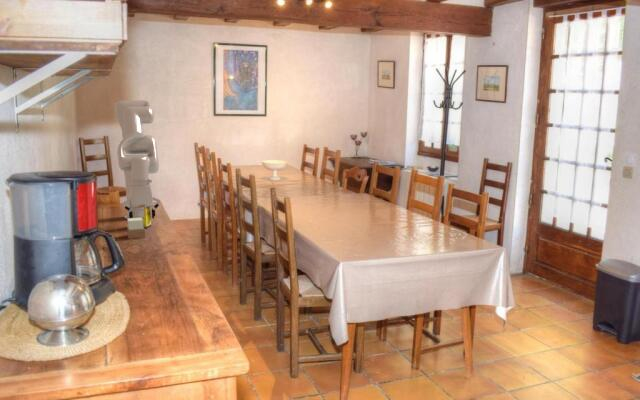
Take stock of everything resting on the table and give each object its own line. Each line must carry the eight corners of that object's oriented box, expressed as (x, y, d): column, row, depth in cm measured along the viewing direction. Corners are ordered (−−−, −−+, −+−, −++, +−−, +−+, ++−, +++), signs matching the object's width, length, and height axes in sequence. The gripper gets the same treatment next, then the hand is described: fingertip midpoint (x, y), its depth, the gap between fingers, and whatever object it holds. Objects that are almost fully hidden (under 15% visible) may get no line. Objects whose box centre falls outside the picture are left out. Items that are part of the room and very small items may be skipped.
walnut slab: (127, 236, 258) (126, 227, 258) (143, 234, 261) (143, 225, 260) (128, 239, 252) (128, 230, 251) (145, 237, 255) (144, 229, 254)
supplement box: (151, 225, 277) (150, 203, 275) (146, 228, 272) (145, 205, 270) (139, 225, 278) (138, 203, 276) (134, 228, 272) (132, 205, 270)
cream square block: (127, 227, 257) (127, 218, 257) (142, 226, 260) (141, 217, 259) (129, 230, 252) (128, 221, 251) (143, 228, 254) (142, 220, 253)
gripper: (158, 180, 278) (160, 215, 281) (120, 183, 271) (122, 219, 274) (160, 182, 271) (162, 218, 274) (121, 185, 264) (124, 222, 267)
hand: (142, 218), depth 274 cm, fingers open, 9 cm apart
